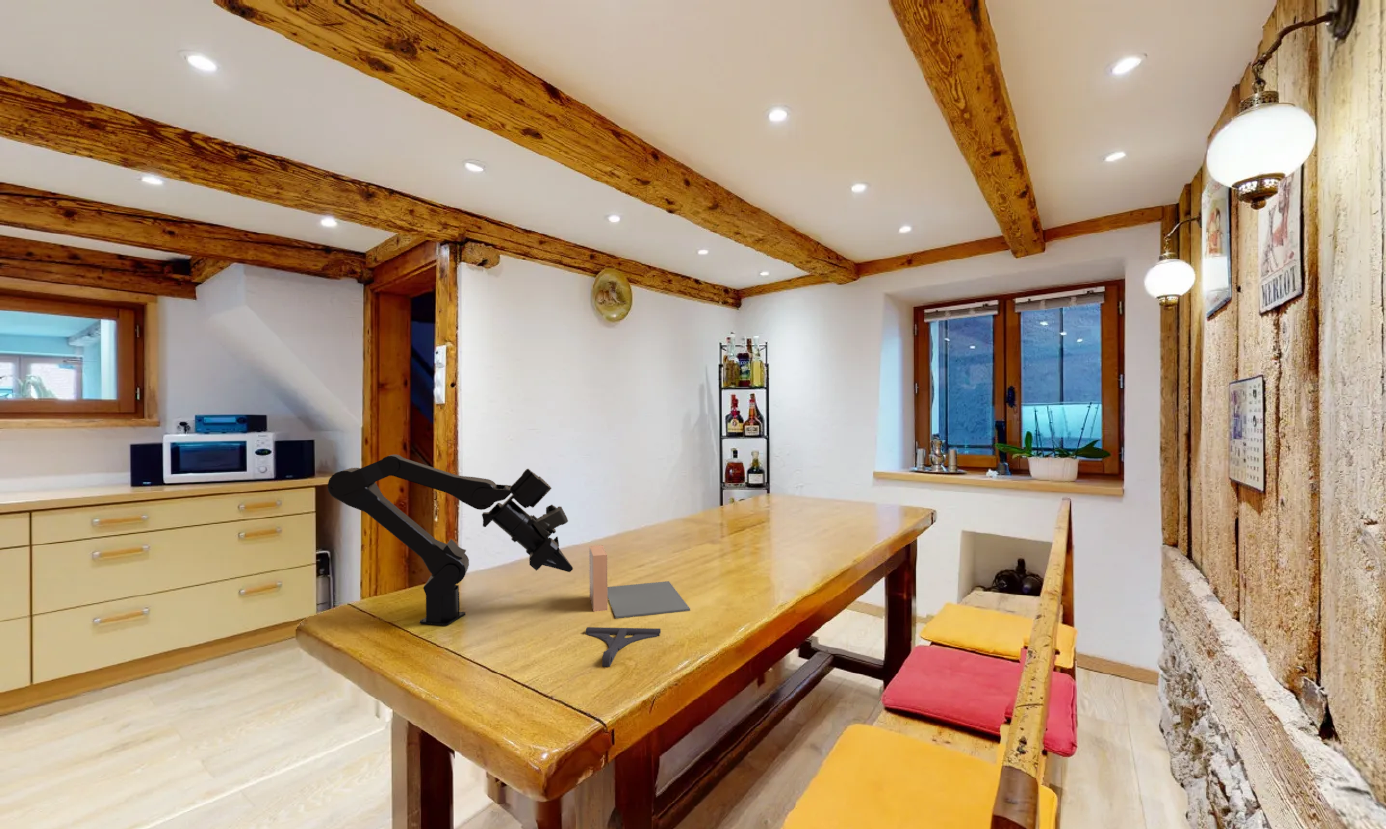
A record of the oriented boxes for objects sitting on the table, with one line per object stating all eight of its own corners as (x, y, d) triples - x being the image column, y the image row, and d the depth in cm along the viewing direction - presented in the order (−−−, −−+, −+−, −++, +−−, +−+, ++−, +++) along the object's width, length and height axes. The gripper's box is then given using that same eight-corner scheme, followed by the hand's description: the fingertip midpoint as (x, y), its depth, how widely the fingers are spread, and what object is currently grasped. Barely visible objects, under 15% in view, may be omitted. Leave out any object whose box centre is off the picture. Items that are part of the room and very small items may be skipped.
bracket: (564, 670, 94) (564, 653, 94) (587, 634, 109) (587, 620, 109) (648, 673, 93) (648, 656, 93) (660, 636, 107) (660, 622, 107)
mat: (615, 618, 115) (615, 616, 115) (604, 588, 134) (604, 587, 134) (690, 610, 119) (690, 608, 119) (668, 582, 138) (668, 581, 138)
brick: (593, 611, 119) (593, 555, 119) (589, 598, 128) (589, 546, 128) (607, 610, 120) (607, 554, 120) (603, 596, 128) (602, 545, 128)
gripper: (545, 502, 111) (601, 552, 115) (544, 489, 129) (593, 533, 133) (504, 544, 109) (563, 594, 113) (509, 526, 127) (559, 569, 130)
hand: (571, 570), depth 122 cm, fingers closed
